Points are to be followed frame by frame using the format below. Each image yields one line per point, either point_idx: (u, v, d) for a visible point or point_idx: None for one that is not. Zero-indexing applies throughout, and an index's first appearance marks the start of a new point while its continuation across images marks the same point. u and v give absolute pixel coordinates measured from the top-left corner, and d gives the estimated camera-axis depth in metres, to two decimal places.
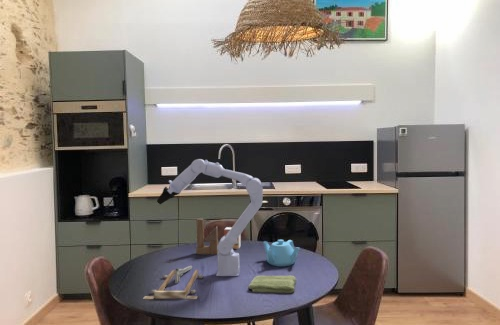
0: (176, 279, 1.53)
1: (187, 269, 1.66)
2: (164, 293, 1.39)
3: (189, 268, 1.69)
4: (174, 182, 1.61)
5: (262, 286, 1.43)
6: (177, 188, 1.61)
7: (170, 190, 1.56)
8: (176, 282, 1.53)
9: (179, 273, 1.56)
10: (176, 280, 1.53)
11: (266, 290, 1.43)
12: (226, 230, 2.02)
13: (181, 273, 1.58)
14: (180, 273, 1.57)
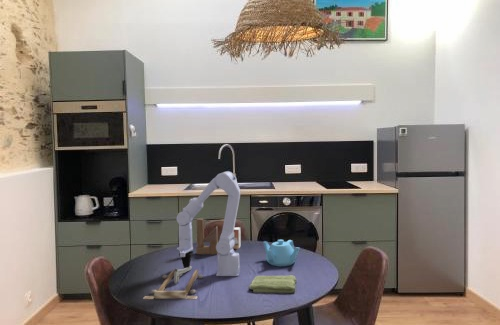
0: (175, 279, 1.52)
1: (187, 269, 1.65)
2: (164, 293, 1.39)
3: (189, 268, 1.68)
4: (180, 246, 1.65)
5: (263, 286, 1.43)
6: (186, 248, 1.65)
7: (182, 254, 1.60)
8: (175, 282, 1.52)
9: (178, 273, 1.55)
10: (175, 281, 1.52)
11: (267, 290, 1.43)
12: None
13: (180, 273, 1.57)
14: (179, 273, 1.56)
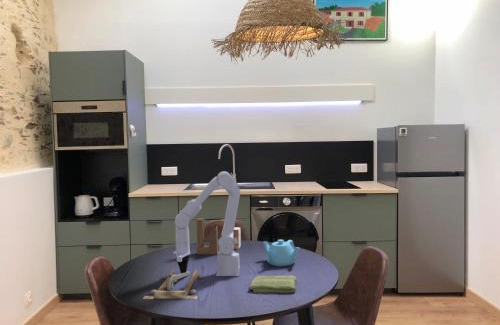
0: (168, 286, 1.46)
1: (183, 275, 1.59)
2: (164, 293, 1.39)
3: (186, 274, 1.61)
4: (177, 250, 1.59)
5: (263, 286, 1.43)
6: (183, 252, 1.59)
7: (178, 259, 1.54)
8: (168, 289, 1.46)
9: (172, 279, 1.49)
10: (169, 287, 1.46)
11: (267, 290, 1.43)
12: None
13: (175, 279, 1.51)
14: (174, 279, 1.50)
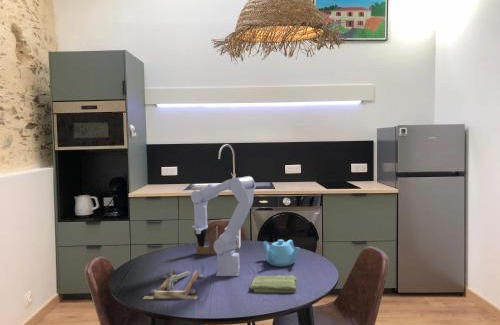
0: (168, 286, 1.46)
1: (183, 275, 1.59)
2: (164, 293, 1.39)
3: (186, 274, 1.62)
4: (196, 224, 1.70)
5: (264, 286, 1.43)
6: (202, 225, 1.69)
7: (198, 231, 1.65)
8: (168, 289, 1.47)
9: (172, 279, 1.49)
10: (169, 287, 1.46)
11: (268, 290, 1.43)
12: None
13: (175, 279, 1.51)
14: (174, 279, 1.50)
